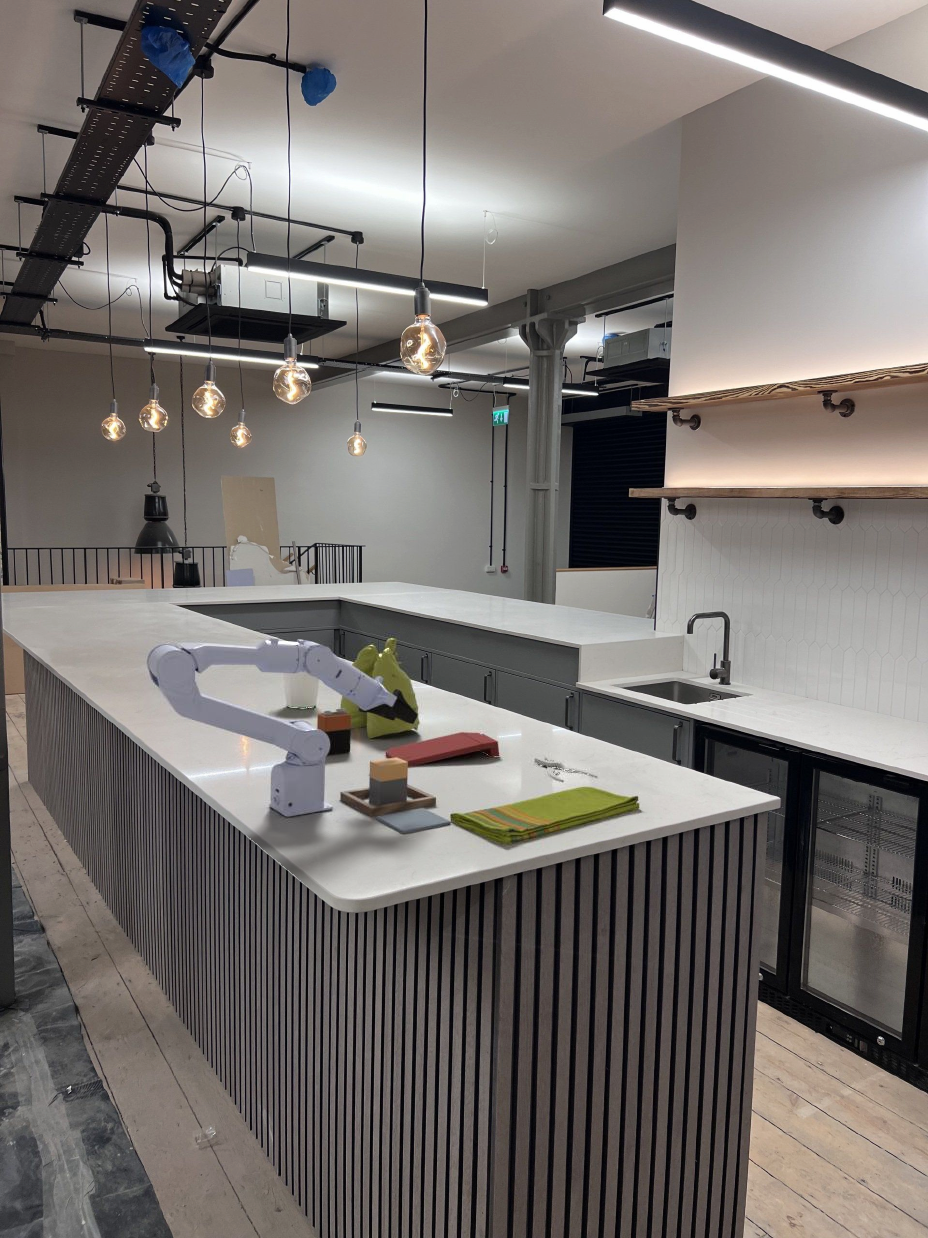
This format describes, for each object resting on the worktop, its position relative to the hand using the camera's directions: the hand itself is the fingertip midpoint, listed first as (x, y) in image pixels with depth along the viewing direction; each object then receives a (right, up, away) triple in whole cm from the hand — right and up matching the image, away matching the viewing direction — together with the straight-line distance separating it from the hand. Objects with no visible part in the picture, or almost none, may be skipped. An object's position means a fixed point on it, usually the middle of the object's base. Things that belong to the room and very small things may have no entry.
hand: (405, 717), depth 173 cm
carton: (+6, -13, +33) cm, 36 cm away
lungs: (-11, -10, +59) cm, 61 cm away
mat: (+2, -17, -14) cm, 22 cm away
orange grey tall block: (-3, -16, -3) cm, 16 cm away
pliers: (+33, -15, +24) cm, 43 cm away
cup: (-36, -6, +85) cm, 92 cm away
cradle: (-3, -16, -3) cm, 16 cm away
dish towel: (+27, -18, -8) cm, 33 cm away
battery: (-19, -12, +33) cm, 40 cm away
